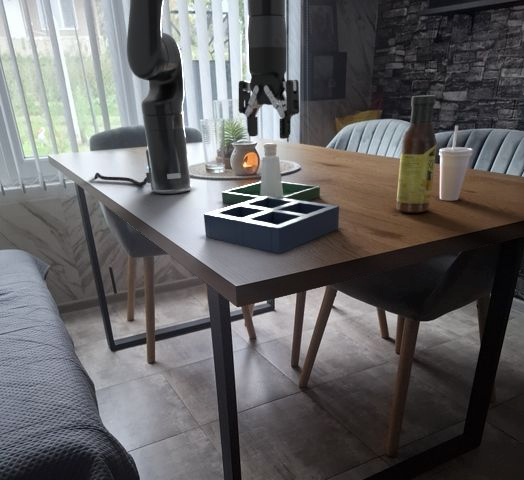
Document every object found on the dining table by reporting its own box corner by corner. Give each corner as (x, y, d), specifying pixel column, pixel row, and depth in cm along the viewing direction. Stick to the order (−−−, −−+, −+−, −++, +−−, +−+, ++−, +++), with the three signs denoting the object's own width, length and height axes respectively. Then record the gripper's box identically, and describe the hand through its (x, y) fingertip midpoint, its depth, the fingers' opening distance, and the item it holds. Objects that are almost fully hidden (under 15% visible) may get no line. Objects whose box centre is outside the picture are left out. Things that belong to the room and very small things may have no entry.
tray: (222, 202, 107) (221, 191, 106) (267, 189, 117) (267, 180, 116) (276, 211, 98) (275, 199, 97) (319, 196, 108) (320, 186, 107)
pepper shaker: (288, 195, 108) (287, 142, 103) (277, 200, 104) (275, 145, 98) (266, 194, 110) (264, 142, 105) (255, 199, 106) (252, 145, 101)
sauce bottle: (430, 214, 91) (445, 95, 81) (396, 214, 92) (407, 97, 82) (427, 206, 96) (441, 94, 87) (394, 206, 98) (405, 95, 88)
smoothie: (428, 196, 104) (437, 125, 97) (457, 194, 104) (468, 123, 98) (440, 202, 98) (450, 127, 92) (470, 201, 99) (483, 126, 92)
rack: (205, 237, 84) (203, 213, 82) (267, 216, 95) (266, 195, 93) (279, 254, 74) (278, 228, 72) (338, 229, 85) (339, 205, 83)
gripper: (308, 44, 91) (306, 137, 99) (252, 47, 99) (255, 133, 107) (283, 43, 86) (283, 141, 94) (226, 47, 95) (231, 137, 103)
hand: (268, 137), depth 101 cm, fingers open, 8 cm apart
